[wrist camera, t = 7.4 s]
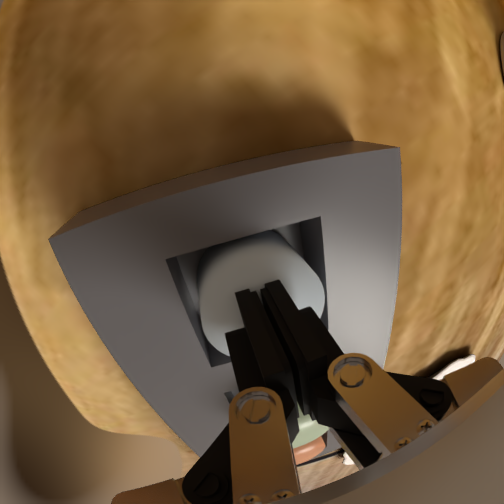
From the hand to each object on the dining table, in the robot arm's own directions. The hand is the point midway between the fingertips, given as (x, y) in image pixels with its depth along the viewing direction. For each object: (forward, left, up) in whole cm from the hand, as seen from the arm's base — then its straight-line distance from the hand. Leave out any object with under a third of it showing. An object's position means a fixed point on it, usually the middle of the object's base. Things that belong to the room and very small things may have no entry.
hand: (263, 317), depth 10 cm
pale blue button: (0, 0, -3) cm, 3 cm away
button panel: (0, +8, -4) cm, 9 cm away
